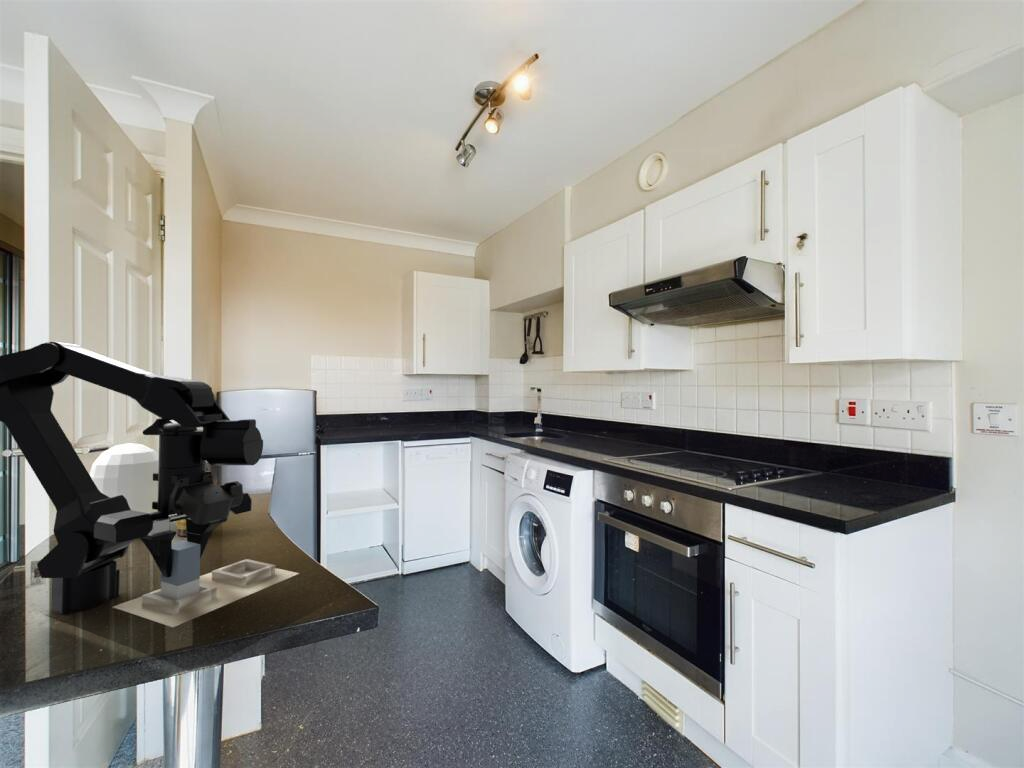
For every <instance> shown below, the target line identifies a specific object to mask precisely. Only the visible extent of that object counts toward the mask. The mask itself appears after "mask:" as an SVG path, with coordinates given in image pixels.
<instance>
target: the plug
mask: <svg viewBox="0 0 1024 768" xmlns="http://www.w3.org/2000/svg"><path fill="white" fill-rule="evenodd" d="M171 544H172V570H171V576H170V577H168V578H166V577H163V575H162V573H161V572H160V574H161V575H160V589H161V597H164V598H167V599H171V600H174V601H177V600H179V599H182V598H184V597H187V596H190V595H192V594H195V593H198V592H199V584H200V576H201V574H200V573H201V559H200V544H196V543H192V542H188V541H187V540H182V541H178V542H174V543H173V542H172V543H171Z"/></svg>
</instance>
